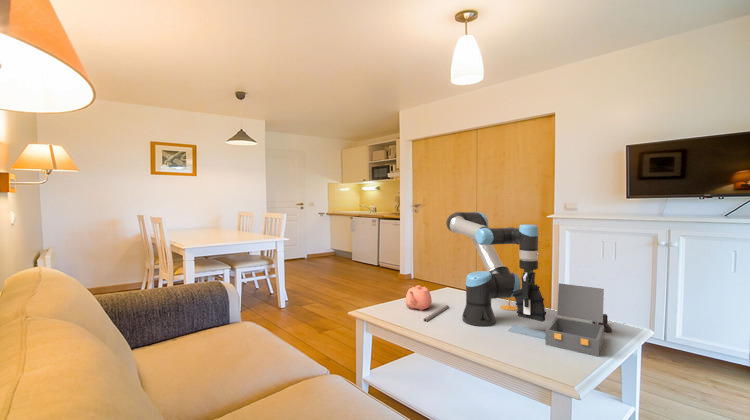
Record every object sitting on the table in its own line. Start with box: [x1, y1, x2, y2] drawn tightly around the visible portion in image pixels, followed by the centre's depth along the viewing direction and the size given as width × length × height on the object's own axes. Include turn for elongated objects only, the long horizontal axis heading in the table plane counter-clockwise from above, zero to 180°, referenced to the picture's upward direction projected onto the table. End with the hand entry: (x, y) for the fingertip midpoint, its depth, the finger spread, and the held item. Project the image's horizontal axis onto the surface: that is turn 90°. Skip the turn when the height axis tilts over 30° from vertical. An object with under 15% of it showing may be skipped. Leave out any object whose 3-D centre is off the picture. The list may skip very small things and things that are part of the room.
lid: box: [556, 283, 605, 323], centre depth 149 cm, size 17×14×1 cm
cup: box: [500, 297, 518, 311], centre depth 187 cm, size 9×9×16 cm
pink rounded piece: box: [404, 285, 432, 312], centre depth 187 cm, size 13×20×12 cm, turn 148°
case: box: [545, 317, 605, 358], centre depth 141 cm, size 18×25×16 cm
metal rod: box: [422, 304, 450, 323], centre depth 177 cm, size 2×27×2 cm, turn 146°
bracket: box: [591, 313, 613, 334], centre depth 157 cm, size 6×12×5 cm, turn 156°
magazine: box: [512, 283, 547, 323], centre depth 151 cm, size 4×13×15 cm, turn 46°
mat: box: [507, 324, 546, 340], centre depth 151 cm, size 15×8×1 cm, turn 52°
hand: (528, 312), depth 151 cm, fingers closed on magazine, 4 cm apart
